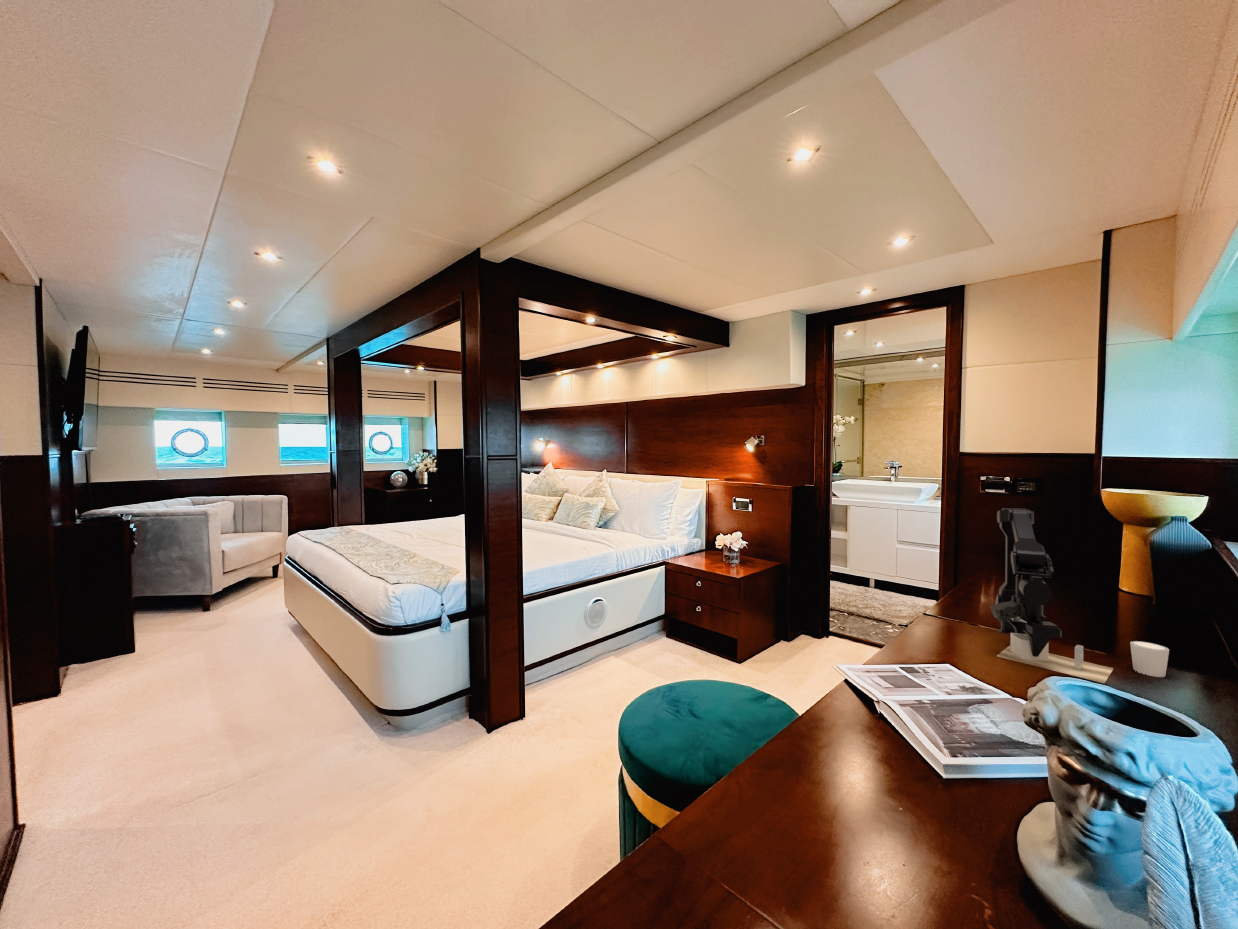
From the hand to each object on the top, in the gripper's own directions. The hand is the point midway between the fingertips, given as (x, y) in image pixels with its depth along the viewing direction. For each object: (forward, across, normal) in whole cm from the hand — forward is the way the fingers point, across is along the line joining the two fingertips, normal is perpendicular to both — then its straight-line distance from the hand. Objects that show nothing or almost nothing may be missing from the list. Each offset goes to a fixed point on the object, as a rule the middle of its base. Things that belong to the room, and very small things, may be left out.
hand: (1028, 652), depth 133 cm
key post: (+1, +6, +8) cm, 10 cm away
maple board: (+3, +3, +4) cm, 6 cm away
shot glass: (+3, -1, +26) cm, 27 cm away
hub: (+1, 0, 0) cm, 1 cm away
